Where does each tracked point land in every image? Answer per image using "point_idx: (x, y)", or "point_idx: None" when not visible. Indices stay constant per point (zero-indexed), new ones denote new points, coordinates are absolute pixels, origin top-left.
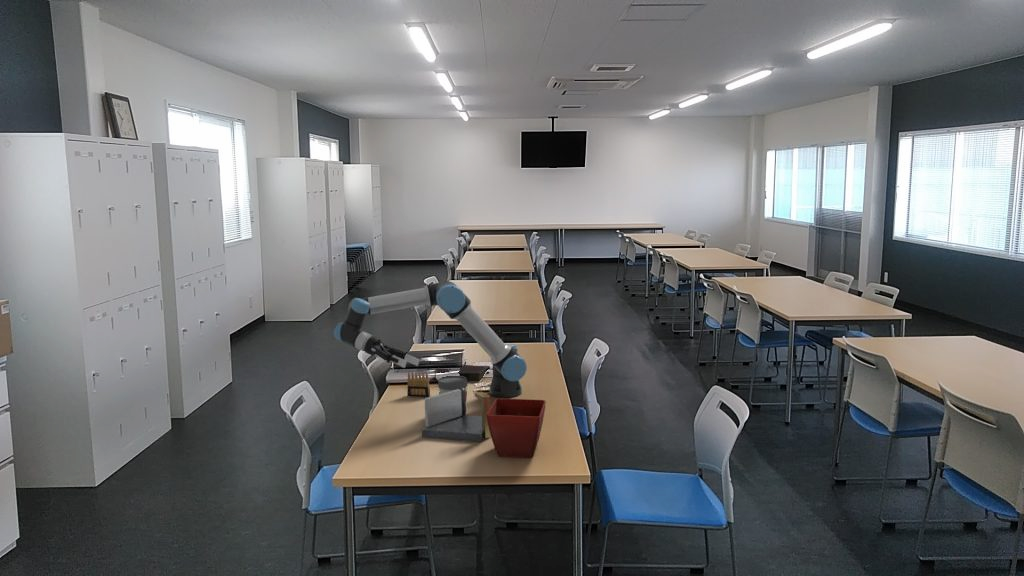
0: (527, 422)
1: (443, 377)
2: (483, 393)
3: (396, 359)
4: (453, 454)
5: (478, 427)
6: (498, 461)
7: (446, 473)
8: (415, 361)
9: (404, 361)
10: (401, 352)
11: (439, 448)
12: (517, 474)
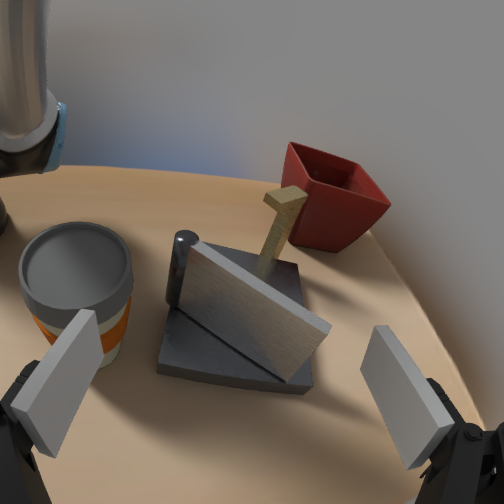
0: (360, 179)
1: (31, 291)
2: (279, 191)
3: (438, 386)
4: (360, 311)
5: (260, 267)
6: (352, 253)
7: (414, 308)
8: (89, 350)
9: (392, 341)
10: (13, 466)
11: (348, 339)
12: (372, 238)
